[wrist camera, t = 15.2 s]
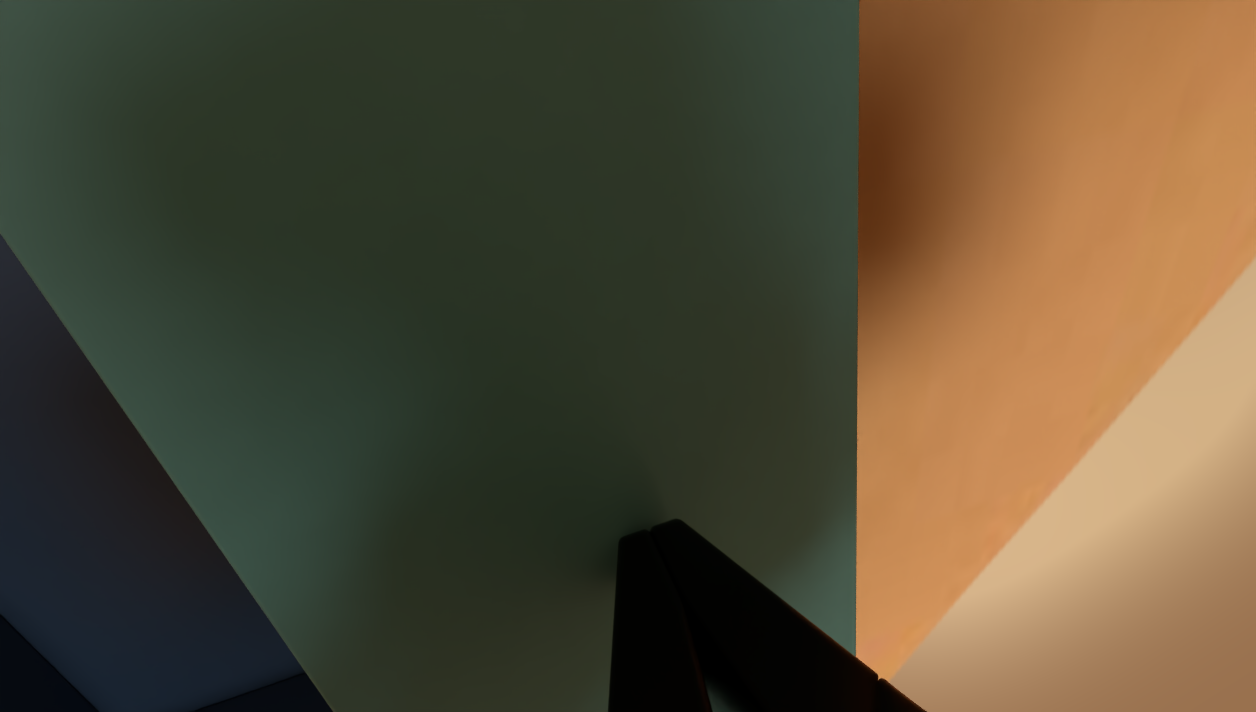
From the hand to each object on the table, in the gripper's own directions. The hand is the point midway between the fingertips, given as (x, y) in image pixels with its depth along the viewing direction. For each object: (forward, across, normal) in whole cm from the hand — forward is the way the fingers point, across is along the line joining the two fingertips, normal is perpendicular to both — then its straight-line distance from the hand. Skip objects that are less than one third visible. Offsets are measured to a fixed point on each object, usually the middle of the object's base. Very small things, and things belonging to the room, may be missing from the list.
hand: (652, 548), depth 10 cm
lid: (0, 0, 0) cm, 1 cm away
